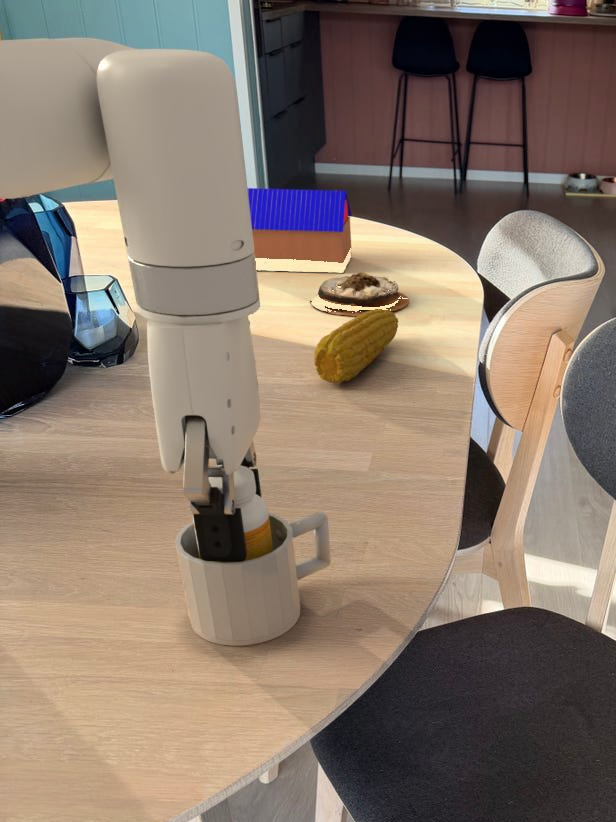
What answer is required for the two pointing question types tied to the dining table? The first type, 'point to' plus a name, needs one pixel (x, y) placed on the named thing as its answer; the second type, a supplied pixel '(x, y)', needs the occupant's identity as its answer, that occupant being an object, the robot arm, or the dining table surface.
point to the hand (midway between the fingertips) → (233, 535)
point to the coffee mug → (250, 584)
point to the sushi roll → (361, 293)
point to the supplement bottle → (249, 513)
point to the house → (300, 224)
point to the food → (354, 345)
